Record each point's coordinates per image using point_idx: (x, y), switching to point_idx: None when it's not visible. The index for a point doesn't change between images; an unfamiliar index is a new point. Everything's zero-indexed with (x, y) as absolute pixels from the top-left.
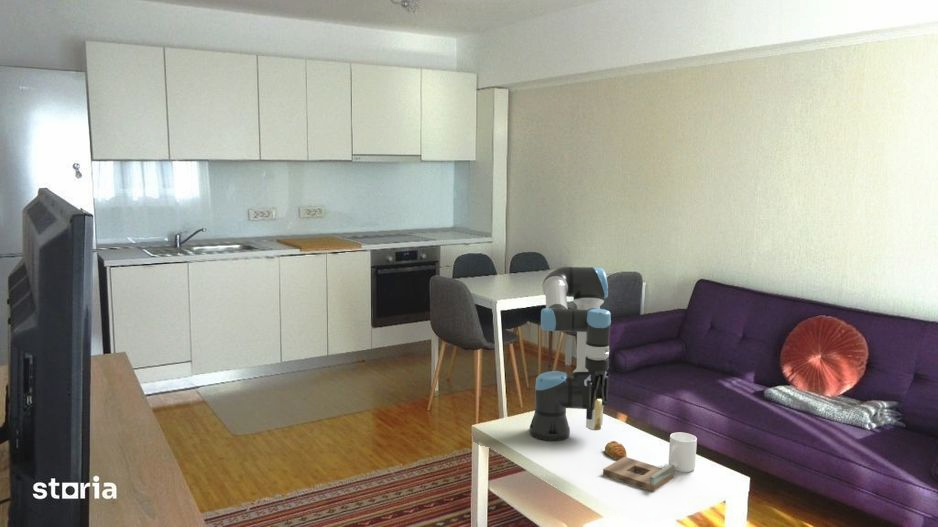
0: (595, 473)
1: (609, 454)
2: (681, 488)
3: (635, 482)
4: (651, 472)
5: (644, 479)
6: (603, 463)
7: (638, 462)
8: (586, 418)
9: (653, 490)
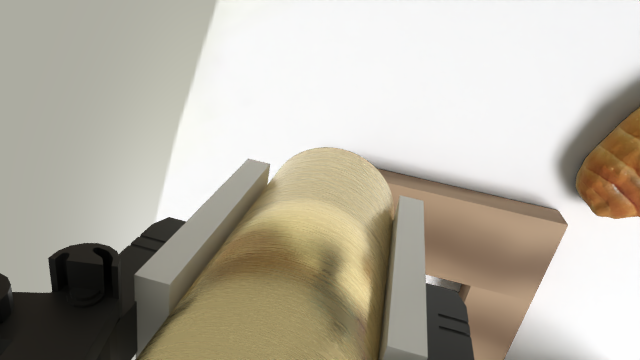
0: (347, 127)
1: (622, 124)
2: None
3: None
4: None
5: None
6: (492, 123)
7: (515, 293)
8: (166, 218)
9: None
